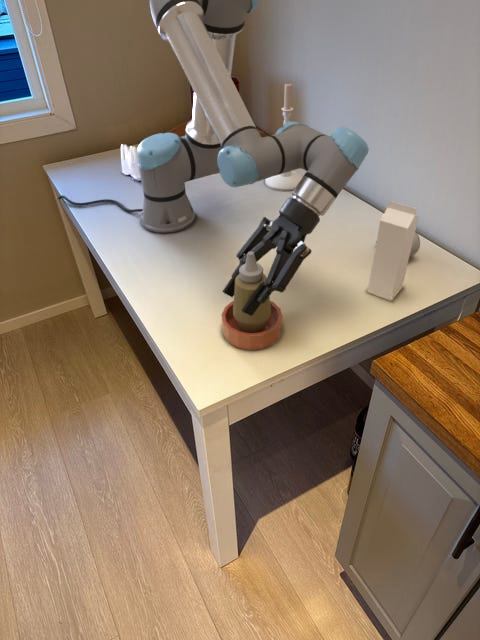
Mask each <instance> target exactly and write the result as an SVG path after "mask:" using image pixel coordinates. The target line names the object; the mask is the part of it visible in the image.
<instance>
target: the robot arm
mask: <svg viewBox="0 0 480 640" xmlns="http://www.w3.org/2000/svg"><path fill="white" fill-rule="evenodd" d="M259 3H260V0H149V7H150V13H151V18H152V20H153V23H154V25H155V28H156V30H157V32H158V34H159V36H160V37H161V39H162V40H163V41H165V42H168V43H169V44H170V47H171V49H172V50H173V52H174V55H175V56H176V58H177V60H178V62H179V64H180V66H181V67H182V70H183V72H184V74H185V77H186V79H187V81H188V82H189V84H190V86H191V88H192V90H193V103H192V118H191V119H190V120H189V121H188V122H187V124H186V125H185V135H182V136H179V135H178V134H177V133H174V132H165V133H163V132H159V133H156V134H153V135H150V136H147V137H146V138H144V139H143V140H141V142H140V143H139V144H138V146H137V147H136V148H137V156H138V166H139V170H140V176H141V181H140V182H141V186H142V193H143V204H142V208H135V209H129V208H127V207H125V206H124V205H123V204H122V203H121V202H119V201H117V200H115V199H109V198H107V199H106V198H105V199H103V198H102V199H97V200H96V199H95V200H93V201H92V200H91V201H86V202H76V201H73V200H71V199H69V198H68V197H67V196H65V195H59V196H58V198H57V200H61V199H64V200H65V201H66V202H68V203H69V204H71V205H74V206H89V205H94V204H99V203H100V204H101V203H114V204H116V205H118V206H119V207H120V208H121V209H122V210H123V211H125V212H127V213H141V214H140V216H141V217H140V218H141V224H142V226H143V227H144V228H145V229H146V230H148V231H150V232H152V233H158V234H171V233H176V232H180V231H183V230H185V229H187V228H189V227H190V226H191V225H192V224H193V223H194V222H195V219H196V217H195V211H194V208H193V206H192V204H191V201H190V199H189V197H188V195H187V192H186V184H185V183H187V182H190V181H194V180H198V179H201V178H206V177H209V176H212V175H218V174H219V175H220V178H221V180H223V182H224V183H225V184H226V185H228V186H229V187H232V188H238V187H243V186H248V185H254V184H255V183H257V182H260V181H263V180H266V178H269V177H272V176H276V175H280V174H283V173H286V172H290V171H295V170H300V169H301V170H304V171H305V173H304V174H303V175H302V176H303V178H302V179H301V181H300V182H299V183H298V185H297V186H296V187H295V189H294V190H292V192H291V195H292V197H291V196H289V197H288V198H287V199H286V200H285V202H284V203H283V205H282V206H281V207H280V208H279V211H278V212H279V216H278V217H276V218H275V219H274V220H273V219H272V220H271V219H268V218H267V217H266V216H264V217H262V218H261V220H260V222H259V224H258V227H257V228H256V229H255V231H254V232H253V233H252V234H251V235H250V237H249V238H248V239H247V240H246V241H245V242H244V244H243V245H242V247H241V248H240V249H239V250H238V252H237V253H236V254H235V255H236V258H237V259H238V265H237V266H236V268H235V269H234V270H233V272H232V273H231V275H230V276H231V278H230V280H229V281H228V283H227V284H226V285H225V286H224V288H223V289H222V293H223V294H225V295H227V296H229V297H231V298H234V289H235V278H236V277H237V275H239V268H240V267H241V266H242V265H243V264H245V263H246V259H247V254H248V252H250V251H252V252H254V255H255V259H256V262H258V261H260V260H261V259H262V258H264V257H265V256H266V255H267V254H268V253H269V252H271V250H275V249H276V250H275V252H276V254H275V257H274V258H273V262H272V264H271V267H270V269H269V272H268V274H267V276H266V277H267V279H266V282H263V283H260V285H259V286H258V288H257V289H256V290H255V292H254V293H253V295H252V296H251V297H250V299H249V300H248V302H247V303H246V304H245V306H244V307H243V308H242V311H243V312H244V313H246V314H248V315H251V316H252V315H253V314H254V312H255V311H256V310H257V308H258V307H259V306H260V304H261V303H262V304H263V303H265V301H266V300H267V299H268V297H269V296H270V297H271V295H272V293H273V292H278V293H283V292H285V290H286V289H287V287H288V285H289V284H290V283H291V281H292V280H293V278H294V276H295V274H296V273H297V271H298V270H299V268H300V266H301V265H302V263H303V262H304V260H305V259H306V258H308V256H310V255H311V254H312V249H311V248H310V247H309V246H307V245H306V243H305V240H306V237H307V235H311V234H312V232H314V230H315V229H316V227H317V226H318V224H319V223H320V222H321V218H320V216H321V217H324V216H325V214H326V213H327V211H328V210H329V209H330V208H331V207H332V205H333V203H334V201H336V199H337V198H338V196H339V195H340V193H341V192H342V191H343V190H344V188H345V186H347V184H348V182H350V181H351V179H352V177H353V176H354V175H355V174H356V172H357V171H358V170H359V169H360V166H362V164H363V162H364V161H365V159H366V157H367V156H368V154H369V151H370V149H369V148H370V147H369V145H368V143H367V142H366V140H364V138H363V137H362V136H360V135H359V134H358V133H357V132H356V131H354V130H353V129H350V128H348V127H346V126H339V127H337V128H336V129H335V131H333V132H332V133H331V135H327V134H325V133H323V132H321V131H319V130H317V129H315V128H313V127H310V126H309V125H307V124H304V123H301V122H297V121H290V122H288V123H285V124H284V123H283V125H282V126H281V127H280V128H278V129H277V130H276V132H275V133H274V134H271V135H266V136H261V134H260V132H259V131H258V128H257V126H256V124H255V123H254V120H253V118H252V117H251V115H250V113H249V111H248V108H247V107H246V105H245V102H244V101H243V99H242V97H241V94H240V93H239V91H238V89H237V87H236V85H235V83H234V81H233V79H232V77H231V76H232V69H233V61H234V54H235V53H234V52H235V45H236V38H237V35H238V34H240V33H241V32H243V31H244V28H245V21H246V14H251V13H252V12H254V11H255V9H256V8H257V7H258V6H259Z"/></svg>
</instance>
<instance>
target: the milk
mask: <svg viewBox="0 0 480 640" xmlns="http://www.w3.org/2000/svg"><path fill="white" fill-rule="evenodd" d="M419 217H420V216H419V215H417V208H416V207H414V206H411V205H407V204H403V203H400V202H396V201H393V200H389V201H388V203H387V208H386V209H385V210H384V212H383V215H382V216H381V218H380V220H379V226H378V231H377V237H376V241H377V242H376V241H375V249H374V254H373V259H372V263H371V264H372V265H371V270H370V276H369V282H368V286H367V287H368V288H367V293H369V294H372V295H374V296H377V297H379V298H382V299H384V300H387V301H390V302H392V301H393V300H394V298H396V296H397V295H398V294H399V292H400V291H401V290H402V289H403V285H404V281H405V277H406V272H407V268H408V264H409V260H410V257H411V256H410V252H411V247H412V243H413V239H414V235H415V231H416V229H417V225H418V221H419ZM409 256H410V257H409Z"/></svg>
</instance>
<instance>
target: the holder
mask: <svg viewBox="0 0 480 640" xmlns="http://www.w3.org/2000/svg"><path fill="white" fill-rule="evenodd" d="M233 303H234V300H232V301H230V302H229V303H228V304H227V305H225V307H224V308H223V310H222V313H221V316H220V317H221V328H222V334H223V337H224V339H225V340H226V341H227V342H228V343H229V344H230V345H232V346H233V347H236V348H239V349H240V350H241V349H242V350H247V351H256V350H257V351H258V350H262V349H265V348H268V347H270V346H272V345H273V344H275V343H276V342H277V341H278V340H279V339H280V337H281V335H282V330H283V318H284V315H283V313H282V310H281V308H280V306H279V305H277V304H276V303H275V301H272V300H270V305H271V315H270V317H269V320H268V322H267V324H266V326H265V328H264V329H263V330H261V331H260V332H256V333H248V332H244V331H243V330H241V329H240V327H239V325H238V323H237V321H236V319H235V317H234V315H233Z"/></svg>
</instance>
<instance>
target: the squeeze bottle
mask: <svg viewBox="0 0 480 640" xmlns="http://www.w3.org/2000/svg"><path fill="white" fill-rule="evenodd" d="M257 262H258V261H257ZM257 262H256V259H255V255H254V252H252V251H250V252H248V254H247V259H246V263H245V264H243V265H242V266H241V267H240V268H239V275H237V277H236V278H235V289H234V296H233V301H234V303H233V315H234V317H235V319H236V321H237V323H238V325H239V327H240V329H241V330H243V331H244V332H248V333H256V332H260V331H261V330H263V329H264V328H265V326H266V324H267V322H268V320H269V317H270V315H271V305H270V301H271V298H270V297H271V295H270V296H269V297H268V299H267V300H266V301H265V303H263V304H262V303H261V304H260V306H259V307H258V308H257V310H256V311H255V312H254V314H253V315H252V316H251V315H248V314H246V313H244V312H243V311H242V308H243V307H244V306H245V304H246V303H247V302H248V300H249V299H250V297H251V296H252V295H253V293H254V292H255V290H256V289H257V288H258V286H259V285H260V283H263V282H266V279H267V277H268V276H267V275H266V274H265V273H264V267H263V266H262V264H259V263H257Z"/></svg>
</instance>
